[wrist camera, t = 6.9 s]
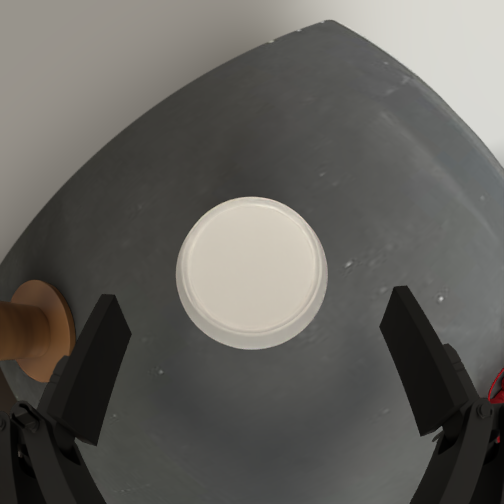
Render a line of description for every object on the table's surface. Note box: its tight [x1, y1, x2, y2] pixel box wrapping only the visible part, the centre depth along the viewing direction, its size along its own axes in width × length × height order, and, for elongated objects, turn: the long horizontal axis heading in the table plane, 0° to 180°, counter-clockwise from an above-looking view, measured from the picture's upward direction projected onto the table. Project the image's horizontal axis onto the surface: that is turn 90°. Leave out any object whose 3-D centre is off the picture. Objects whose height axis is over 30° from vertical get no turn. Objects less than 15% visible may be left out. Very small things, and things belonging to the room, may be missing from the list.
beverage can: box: [176, 197, 328, 349], centre depth 15 cm, size 6×6×12 cm
